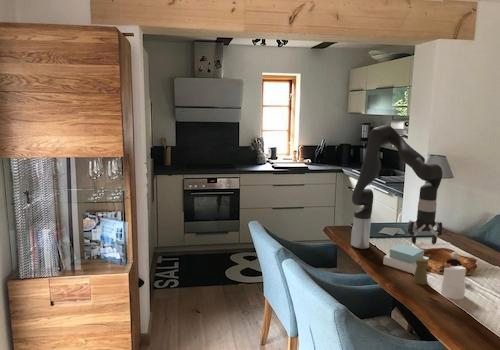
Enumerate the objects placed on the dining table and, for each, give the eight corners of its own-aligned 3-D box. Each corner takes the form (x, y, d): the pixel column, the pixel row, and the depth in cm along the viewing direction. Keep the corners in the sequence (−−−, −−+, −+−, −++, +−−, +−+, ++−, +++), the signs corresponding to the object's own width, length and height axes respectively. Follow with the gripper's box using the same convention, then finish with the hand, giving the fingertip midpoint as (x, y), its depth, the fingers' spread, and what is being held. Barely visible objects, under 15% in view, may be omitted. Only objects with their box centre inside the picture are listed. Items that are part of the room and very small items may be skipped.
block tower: (383, 263, 207) (384, 248, 205) (398, 256, 217) (399, 241, 216) (413, 273, 195) (415, 258, 194) (428, 265, 206) (429, 250, 204)
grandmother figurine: (460, 277, 192) (463, 251, 190) (461, 280, 189) (464, 254, 186) (442, 274, 195) (445, 249, 192) (443, 277, 191) (446, 252, 189)
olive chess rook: (410, 278, 189) (412, 256, 187) (423, 278, 190) (425, 256, 188) (417, 284, 183) (419, 261, 181) (429, 284, 184) (432, 261, 182)
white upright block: (451, 300, 169) (454, 273, 167) (436, 291, 178) (438, 265, 175) (469, 298, 172) (472, 271, 169) (453, 288, 180) (455, 263, 178)
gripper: (413, 210, 177) (410, 246, 180) (446, 211, 177) (443, 247, 179) (407, 206, 185) (404, 240, 187) (439, 207, 184) (436, 241, 187)
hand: (423, 243), depth 183 cm, fingers open, 8 cm apart
